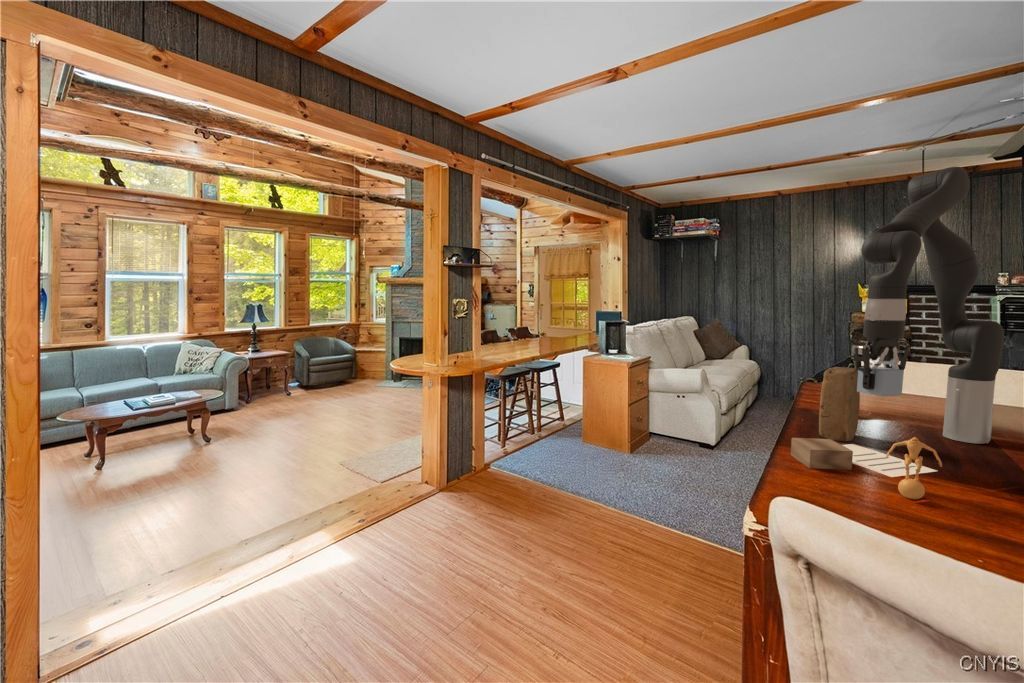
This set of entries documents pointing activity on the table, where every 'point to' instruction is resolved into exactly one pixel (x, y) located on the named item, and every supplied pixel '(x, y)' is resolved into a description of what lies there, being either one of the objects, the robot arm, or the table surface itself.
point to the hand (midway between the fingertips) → (878, 388)
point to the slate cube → (883, 382)
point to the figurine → (913, 486)
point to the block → (839, 404)
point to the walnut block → (821, 453)
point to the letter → (882, 462)
